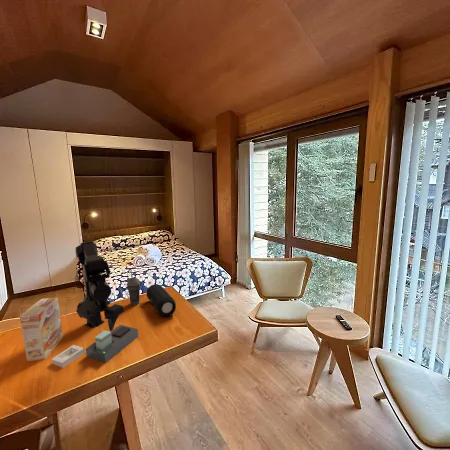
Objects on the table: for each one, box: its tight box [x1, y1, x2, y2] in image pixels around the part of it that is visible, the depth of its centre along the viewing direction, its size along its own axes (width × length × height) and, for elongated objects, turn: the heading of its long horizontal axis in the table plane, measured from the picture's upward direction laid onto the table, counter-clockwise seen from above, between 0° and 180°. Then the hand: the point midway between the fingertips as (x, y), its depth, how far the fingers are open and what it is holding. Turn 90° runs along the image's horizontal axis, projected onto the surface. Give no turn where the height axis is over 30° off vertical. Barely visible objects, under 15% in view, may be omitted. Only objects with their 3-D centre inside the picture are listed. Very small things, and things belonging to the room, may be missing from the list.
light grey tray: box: [51, 344, 86, 369], centre depth 98 cm, size 6×9×2 cm, turn 158°
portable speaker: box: [146, 283, 177, 317], centre depth 137 cm, size 26×10×10 cm, turn 31°
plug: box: [94, 330, 112, 351], centre depth 100 cm, size 3×5×8 cm
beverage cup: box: [126, 270, 141, 306], centre depth 142 cm, size 7×7×20 cm
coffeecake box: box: [19, 297, 64, 362], centre depth 103 cm, size 15×7×20 cm, turn 9°
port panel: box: [85, 324, 139, 364], centre depth 105 cm, size 10×18×5 cm, turn 158°
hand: (102, 328), depth 99 cm, fingers open, 9 cm apart
